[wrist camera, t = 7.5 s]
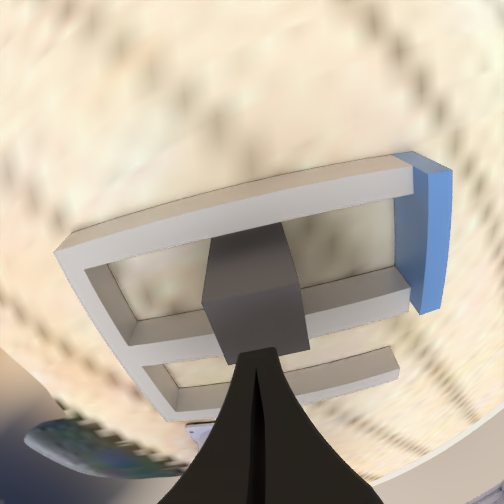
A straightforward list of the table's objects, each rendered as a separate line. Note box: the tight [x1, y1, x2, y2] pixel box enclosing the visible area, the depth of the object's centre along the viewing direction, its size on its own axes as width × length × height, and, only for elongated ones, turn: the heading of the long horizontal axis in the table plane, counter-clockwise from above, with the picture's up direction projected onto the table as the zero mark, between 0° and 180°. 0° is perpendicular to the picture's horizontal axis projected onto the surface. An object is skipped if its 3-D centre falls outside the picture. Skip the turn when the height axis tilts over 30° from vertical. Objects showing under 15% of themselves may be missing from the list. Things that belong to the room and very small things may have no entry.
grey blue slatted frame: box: [53, 152, 452, 422], centre depth 19 cm, size 17×21×4 cm
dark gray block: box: [202, 222, 310, 365], centre depth 16 cm, size 4×4×6 cm
